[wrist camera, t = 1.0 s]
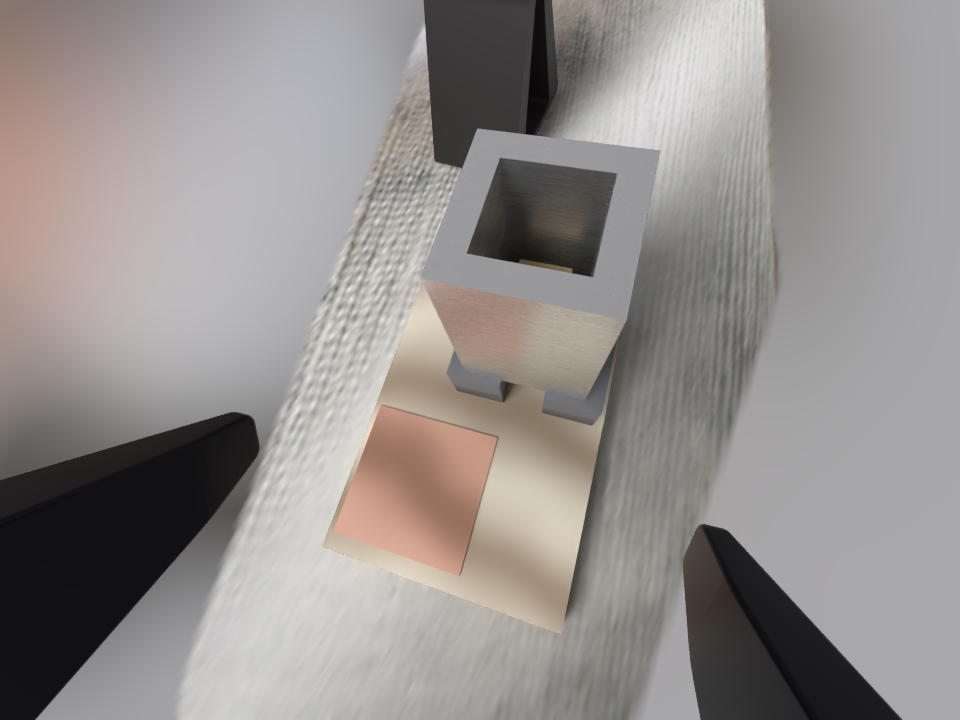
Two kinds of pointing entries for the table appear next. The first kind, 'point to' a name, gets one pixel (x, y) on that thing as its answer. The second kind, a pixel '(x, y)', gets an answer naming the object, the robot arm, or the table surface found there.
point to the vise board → (473, 478)
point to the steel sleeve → (540, 257)
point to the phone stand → (488, 70)
